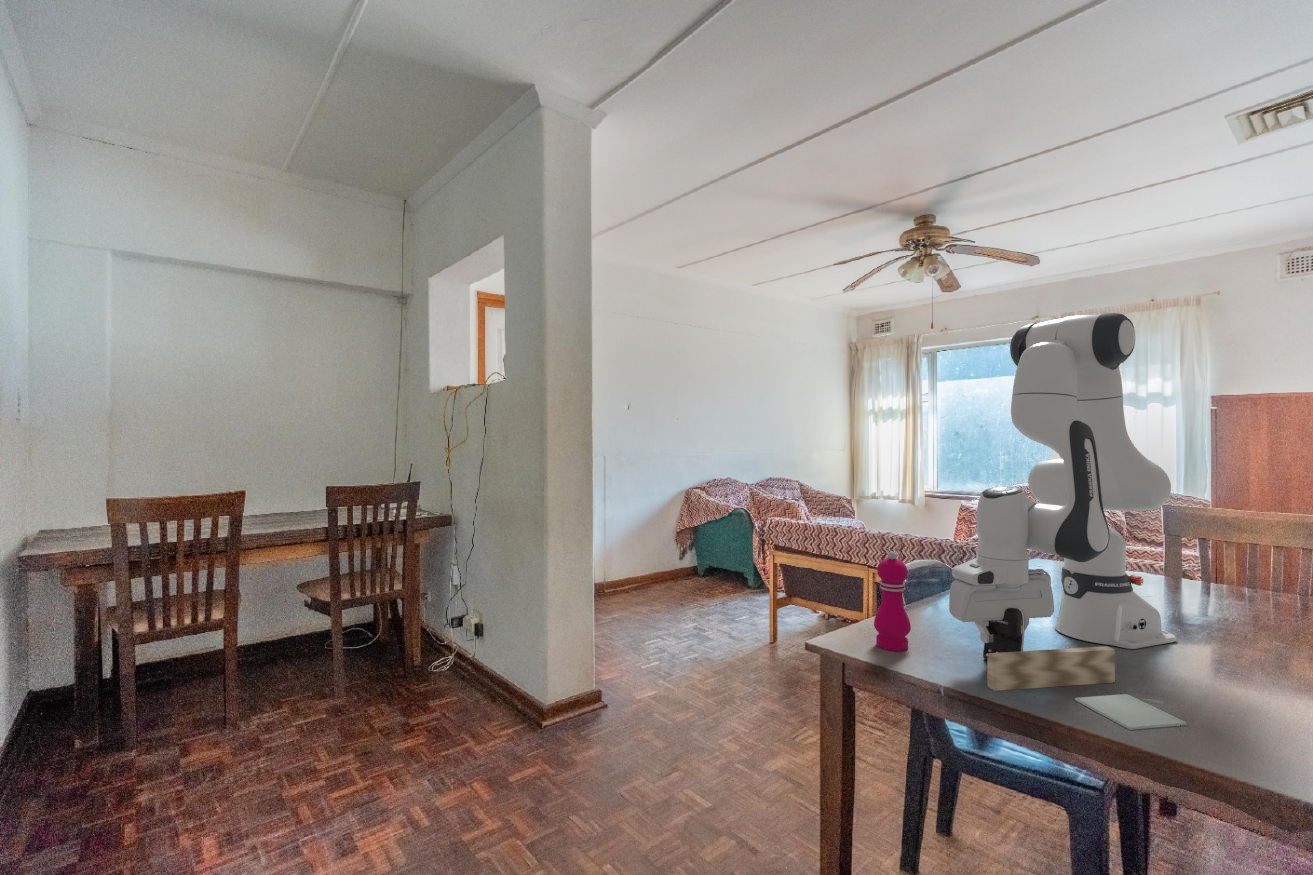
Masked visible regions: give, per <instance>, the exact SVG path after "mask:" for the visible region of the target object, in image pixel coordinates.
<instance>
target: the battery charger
mask: <svg viewBox="0 0 1313 875" xmlns="http://www.w3.org/2000/svg"><path fill="white" fill-rule="evenodd" d="M1024 625H1025V621H1024V613H1023V611H1022V610H1021V609H1019V608H1018V609H1017V608H1008V609H1006V610H1005V612H1004V617H1003V619H1002V620H992V621H989V625H988V626H986V628H987V630H988V632H990V633H992V634H993V642H992V643H984V642H983V643H984V644H983V651H982V652H983V653H982V658H983V659H985V660H986V661H988V653H1002V652H1019V651H1024V642H1025V641H1024V639H1025V631H1024Z"/></svg>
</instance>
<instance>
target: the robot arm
mask: <svg viewBox="0 0 1313 875" xmlns="http://www.w3.org/2000/svg"><path fill="white" fill-rule="evenodd" d="M1009 344H1010V345H1009V351H1010V357H1011V360H1012V361H1013V363H1014V365H1015V366H1016V371H1015V375H1014V381H1013V385H1012V393H1011V402H1010V405H1011V406H1010V416H1011V421H1012V422H1011V423H1012V424H1013V425H1014V427H1015V428H1016V430H1018V431H1019V433H1020V434H1022V435H1023V436H1025V437H1026V438H1028V439H1029V440H1032V441H1034V442H1036V443H1039V444H1041V445H1043V446H1046V447H1047V448H1049V449H1052V450H1053V451H1055V452H1056V454H1058V455H1059V457H1060V458H1053V459H1046V460H1040V461H1038V462H1037V463H1036V464H1035V465H1033V467H1032V468H1031V469H1030V472H1029V474H1028V479H1027V480H1028V482H1027V484H1028V489H1029V491H1030V492H1031V494H1032V496H1033V497H1034V498H1035V499H1036V500H1037V501H1036V500H1034V499H1032V498H1029V497H1028V496H1027V495H1026V492H1025V490H1024V489H1023V488H1021V487H1017V486H1011V485H1007V486H1005V485H1004V486H1003V485H1002V486H995V487H989V488H987V489H984V490H983V491H982V492H981V493H980V496H979V499H978V503H977V509H976V527H975V528H976V529H975V530H976V535H977V540H978V543H977V548H976V551H975V552H976V556H975V558H972V559H971V560H967V561H965V562H963V563H961V564H958V565H956V566H954V567H952V570H951V574H952V575H951V576H952V577H953V578H955V580H953V581H952V582H951V584H950V590H949V595H948V596H949V597H948V598H949V599H948V601H949V602H948V610H949V613H950V615H951V616H952V618H954V619H956V620H957V621H960V622H963V623H974V624H975V626H976V628H977V629H978V630H979V632H980V641H982V642H983V643H992V642H993V634H992V633H990V632H988V630H987V628H986V626H988V625H989V621H992V620H1002V619H1003V617H1004V612H1005V610H1006V609H1008V608H1017V609H1018V608H1019V609H1021V610H1022V611H1023V613H1024V621H1025V625H1024V632H1026V630H1027V628H1028V626H1029V624H1030V619H1038V618H1039V619H1043V618H1051V617H1052V616H1053V615H1054V613H1055V601H1054V600H1055V599H1054V593H1053V588H1052V585H1051V584H1052V578H1051V575H1050V573H1049V572H1047V571H1046V570H1044V569H1043V568H1035V569H1033V568H1032V569H1031V568H1029V567H1030V566H1029V564H1030V563H1029V561H1030V560H1029V558H1030V557H1029V556H1030V555H1029V552H1028V550H1029V551H1034V552H1036V553H1037V552H1038V553H1042V554H1048V555H1051V556H1052V555H1054V556H1057V557H1060V558H1063V566H1062V567H1061V574H1060V575H1061V585H1062V592H1061V596H1060V597H1061V598H1060V603H1059V604H1060V605H1059V611H1058V616H1057V617H1056V623H1055V626H1054V629H1055V630H1056V631H1057V632H1059V633H1061V634H1062V635H1065V636H1067V637H1070V638H1073V639H1077V640H1081V641H1084V642H1088V643H1089V642H1090V643H1094V644H1101V645H1106V646H1107V645H1109V646H1114V647H1119V648H1123V649H1126V650H1127V649H1128V650H1135V649H1141V648H1146V647H1148V648H1149V647H1152V646H1159V645H1164V644H1169V643H1174V642H1177V637H1176V635H1174V634H1173V633H1171V632H1168V631H1167V630H1164V629H1163V628H1162V617H1161V615H1160V612H1159V610H1158V609H1157V608H1156V607H1155V606H1153V605H1152V604H1150V603H1149V602H1148V601H1147V600H1145V599H1144V598H1142V596H1140V595H1139V594H1138V593H1136V592H1135V591H1134V588H1133V585H1136V586H1138V587H1139V586H1142V585H1143V584H1145V583H1144V578H1143V577H1142V576H1139V575H1135V574H1131V575H1128V573H1126V567H1127V566H1126V563H1127V562H1126V560H1127V559H1126V557H1127V556H1126V555H1127V554H1126V553H1127V552H1126V551H1127V550H1126V549H1127V548H1126V547H1127V546H1126V545H1127V544H1126V541H1125V539H1124V537H1123V536H1122V534H1120V533H1119V532H1118V531H1117V530H1116V529H1114V528H1112V527H1110V526H1109V524H1108V520H1107V517H1106V514H1105V510H1107V511H1116V512H1117V511H1120V512H1132V513H1133V512H1147V511H1157V510H1158V509H1159V508H1161V507H1162V506H1163V505H1165V503H1166V502H1167V501H1168V500H1169V497H1170V495H1171V492H1172V485H1171V479H1170V478H1169V476H1168V474H1167V473H1166V471H1165V470H1164V469H1163V468H1162V467H1161V466H1159V465H1158V464H1156V463H1155V462H1153V461H1151V460H1150V459H1148V458H1147V457H1146V456H1145V455H1144V454H1143V453H1141V452H1140V451H1139V449H1138V448H1137V447H1136V446H1135V444H1134V443H1133V441H1132V440H1131V438H1130V436H1129V434H1128V431H1127V426H1126V419H1125V412H1124V409H1125V408H1124V395H1123V394H1124V393H1123V383H1122V376H1121V371H1120V367H1119V366H1120V365H1121V364H1122V363H1124V362H1126V361H1127V359H1129V357H1131V355H1132V354H1133V352H1134V349H1135V345H1136V331H1135V326H1134V323H1133V322H1132V320H1131V319H1130V318H1129V317H1128V316H1126V315H1125V314H1123V313H1118V312H1117V313H1116V312H1101V314H1081V315H1071V316H1070V315H1069V316H1066V317H1063V318H1062V317H1061V318H1057V319H1052V320H1047V321H1043V322H1033V323H1030V324H1027V325H1024V326H1022V327H1019V328H1018V329H1017V330H1016V331H1015V333H1014V334H1013V336H1012V338H1011V340H1010V343H1009Z"/></svg>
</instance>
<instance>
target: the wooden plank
mask: <svg viewBox="0 0 1313 875" xmlns="http://www.w3.org/2000/svg"><path fill="white" fill-rule="evenodd" d="M986 676H987V688H989V689H990V690H992V691H993V692H999V691H1011V690H1012V691H1013V690H1014V691H1015V690H1024V689H1025V690H1027V689H1039V688H1042V689H1044V688H1051V687H1052V688H1054V687H1056V688H1057V687H1070V686H1072V687H1073V686H1081V685H1082V686H1084V685H1098V684H1114V683H1116V682H1115V681H1116V649H1115V648H1113V647H1111V646H1107V645H1105V646H1104V645H1103V646H1090V647H1089V646H1088V647H1075V648H1074V647H1070V648H1056V649H1053V648H1052V649H1039V650H1038V649H1037V650H1023V651H1019V652H1002V653H988V660H987V675H986ZM1113 682H1114V683H1113Z"/></svg>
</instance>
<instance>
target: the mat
mask: <svg viewBox="0 0 1313 875" xmlns="http://www.w3.org/2000/svg"><path fill="white" fill-rule="evenodd" d="M1074 701H1075V702H1077V703H1078V704H1081V705H1083V706H1085V707H1087V708H1089V709H1091V710H1092V711H1094V712H1096V713H1097V714H1099V715H1101V716H1104V717H1105V718H1108V719H1109V720H1111V721H1113V722H1114V723H1117V724H1118V725H1120V726H1122V727H1123V728H1125V729H1128V730H1131V731H1133V730H1143V729H1145V730H1146V729H1156V728H1166V727H1167V728H1168V727H1180V725H1181V726H1182V727H1183V726H1188V725H1187V724H1188V723H1187V722H1186V721H1185V720H1182V719H1180V718H1178V717H1175V716H1174V715H1172V714H1170V713H1168V712H1166V711H1163V710H1162V709H1159V708H1158V707H1155V706H1153V705H1151V704H1149V703H1146V702H1144V701H1142V700H1140V699H1138V698H1136V697H1134V696H1132V695H1130V694H1128V693H1124V694H1123V693H1122V694H1121V693H1120V694H1110V695H1109V694H1108V695H1096V696H1095V695H1094V696H1084V697H1082V696H1081V697H1074Z"/></svg>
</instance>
